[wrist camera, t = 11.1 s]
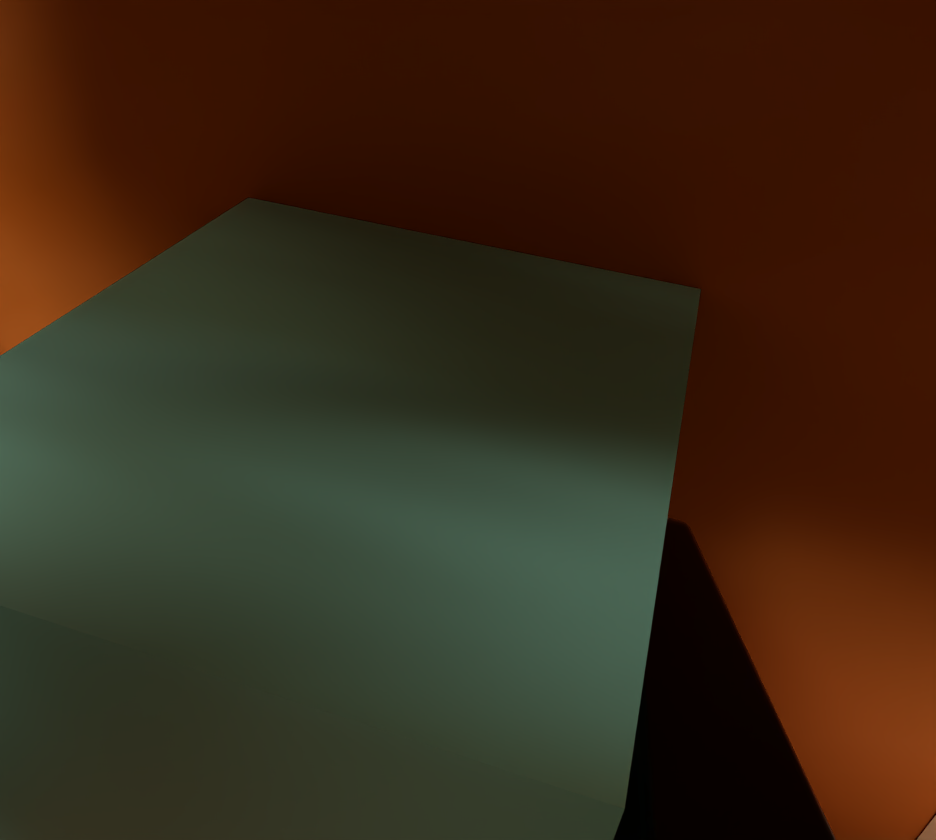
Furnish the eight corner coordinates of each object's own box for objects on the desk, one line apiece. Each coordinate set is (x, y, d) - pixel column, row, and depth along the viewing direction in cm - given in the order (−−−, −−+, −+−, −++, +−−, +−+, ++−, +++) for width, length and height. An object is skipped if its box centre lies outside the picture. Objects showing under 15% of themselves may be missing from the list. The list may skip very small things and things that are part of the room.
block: (700, 289, 7) (625, 809, 3) (608, 623, 10) (502, 1144, 6) (247, 197, 8) (-260, 521, 4) (271, 527, 11) (-24, 925, 7)
